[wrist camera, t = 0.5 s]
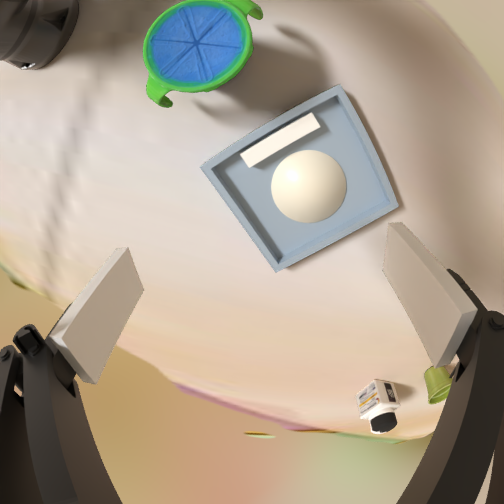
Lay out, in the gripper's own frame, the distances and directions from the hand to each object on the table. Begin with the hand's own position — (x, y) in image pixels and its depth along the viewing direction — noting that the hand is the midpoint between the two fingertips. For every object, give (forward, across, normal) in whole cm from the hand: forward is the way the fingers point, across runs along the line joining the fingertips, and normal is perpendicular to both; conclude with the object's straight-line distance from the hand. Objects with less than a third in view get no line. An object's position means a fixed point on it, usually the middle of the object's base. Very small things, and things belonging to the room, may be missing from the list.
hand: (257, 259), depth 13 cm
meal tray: (+24, +6, -3) cm, 25 cm away
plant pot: (+24, +42, -54) cm, 72 cm away
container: (+24, +24, -56) cm, 65 cm away
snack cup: (+24, -4, +15) cm, 29 cm away
